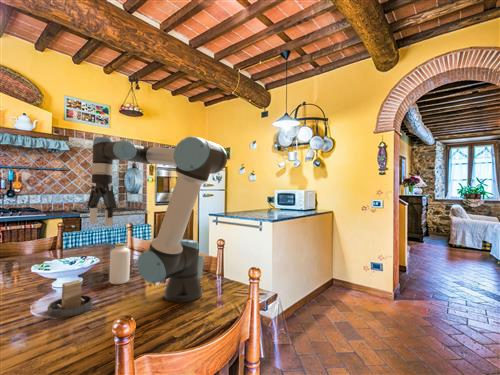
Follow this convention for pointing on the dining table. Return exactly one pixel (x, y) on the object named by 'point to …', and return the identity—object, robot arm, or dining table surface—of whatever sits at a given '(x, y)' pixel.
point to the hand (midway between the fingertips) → (100, 224)
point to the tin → (57, 309)
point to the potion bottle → (119, 264)
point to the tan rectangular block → (71, 294)
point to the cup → (200, 266)
